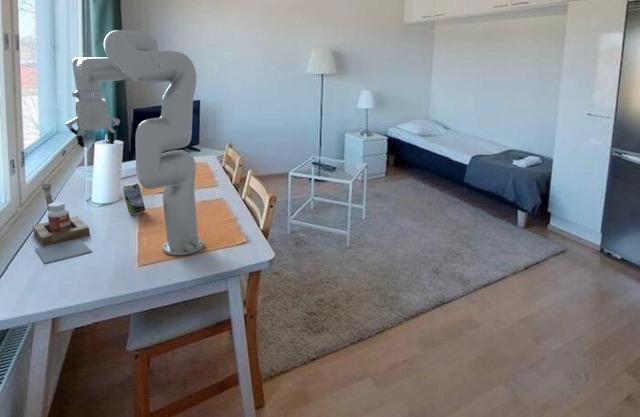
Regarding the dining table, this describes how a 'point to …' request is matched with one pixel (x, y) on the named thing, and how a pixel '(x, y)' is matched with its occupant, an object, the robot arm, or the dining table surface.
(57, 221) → the pill bottle
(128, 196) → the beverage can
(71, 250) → the mat
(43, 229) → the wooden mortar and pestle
